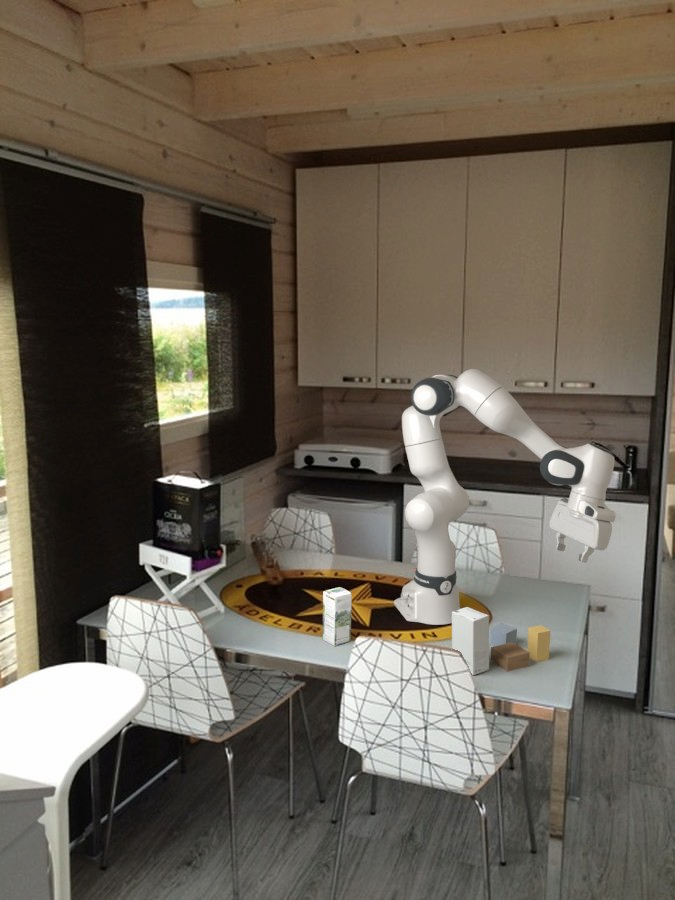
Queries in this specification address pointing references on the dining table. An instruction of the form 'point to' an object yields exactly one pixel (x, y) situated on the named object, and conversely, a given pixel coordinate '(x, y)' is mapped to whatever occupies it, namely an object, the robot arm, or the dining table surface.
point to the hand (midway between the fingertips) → (570, 555)
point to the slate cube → (503, 635)
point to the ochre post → (538, 643)
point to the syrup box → (337, 616)
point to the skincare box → (471, 638)
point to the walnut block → (510, 656)
